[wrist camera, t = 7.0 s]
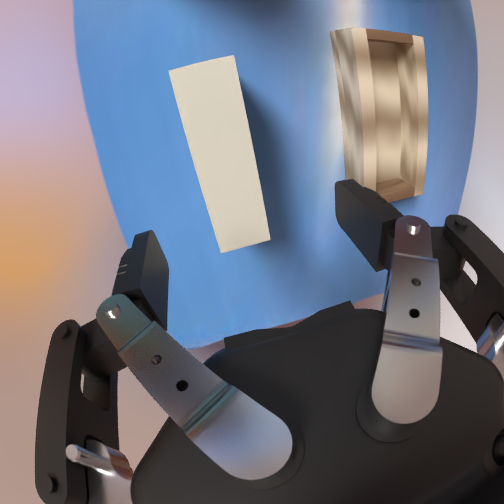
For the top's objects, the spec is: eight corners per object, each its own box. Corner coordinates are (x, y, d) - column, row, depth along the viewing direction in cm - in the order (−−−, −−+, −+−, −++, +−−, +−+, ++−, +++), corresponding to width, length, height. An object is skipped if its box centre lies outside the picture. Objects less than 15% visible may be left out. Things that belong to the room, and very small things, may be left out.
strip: (176, 73, 20) (168, 71, 13) (221, 62, 20) (233, 55, 14) (213, 207, 28) (221, 253, 22) (251, 197, 28) (270, 239, 22)
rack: (329, 31, 19) (350, 27, 16) (398, 36, 20) (422, 37, 16) (345, 192, 30) (363, 208, 27) (403, 180, 30) (423, 194, 27)
